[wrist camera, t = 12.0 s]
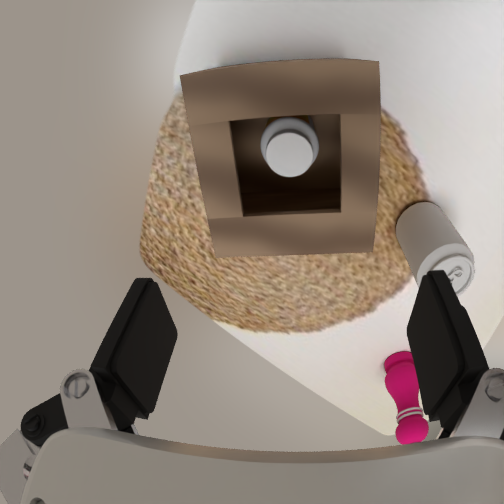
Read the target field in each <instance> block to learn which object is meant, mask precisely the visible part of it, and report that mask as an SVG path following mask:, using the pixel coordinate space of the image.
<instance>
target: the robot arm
mask: <svg viewBox="0 0 504 504" xmlns="http://www.w3.org/2000/svg"><path fill="white" fill-rule="evenodd" d="M407 337H408V341H409V345H410V349H411V353H412V357H413V361H414V366H415V370H416V375H417V379H418V384H419V389H420V394H421V399H422V404H423V410H424V413H425V415H429V421H430V422H431V421H437V420H440V424H441V427H442V429H441V431H440V432H439V434H438V436H437V437H436V439H435V440H430V441H424V442H418V443H411V444H404V445H397V446H388V447H381V448H371V449H359V450H346V451H323V452H273V451H252V450H238V449H227V448H217V447H208V446H200V445H193V444H186V443H179V442H173V441H167V440H162V439H156V438H151V437H145V436H140V435H139V434H138V432H137V430H136V427H135V425H134V421H135V418H136V417H138V418H142V419H148V416H149V413H152V412H153V411H154V409H155V405H156V402H157V399H158V395H159V392H160V389H161V386H162V383H163V380H164V377H165V374H166V371H167V367H168V364H169V361H170V358H171V355H172V352H173V349H174V346H175V343H176V340H177V329H176V327H175V324H174V322H173V320H172V317H171V315H170V313H169V311H168V308H167V305H166V303H165V301H164V298H163V296H162V294H161V291H160V288H159V286H158V284H157V283H156V282H154V281H153V279H152V278H136V279H135V280H134V282H133V284H132V285H131V287H130V289H129V291H128V293H127V295H126V297H125V298H124V300H123V302H122V304H121V306H120V308H119V310H118V312H117V314H116V316H115V318H114V320H113V321H112V323H111V325H110V327H109V329H108V331H107V333H106V336H105V337H104V339H103V341H102V343H101V345H100V347H99V350H98V352H97V354H96V356H95V358H94V360H93V362H92V364H91V367H90V369H89V371H88V370H85V369H76V370H73V371H72V372H70V373H69V374H67V375H66V377H65V378H64V379H63V381H62V383H61V386H60V394H58V395H56V396H54V397H52V398H50V399H49V400H47V401H45V402H44V403H41V404H40V405H38V406H36V407H34V408H32V409H31V410H29V411H28V412H27V413H26V414H25V415H24V417H23V419H22V422H21V430H20V431H19V430H18V429H17V430H15V431H14V432H13V433H12V434H11V435H10V436H9V437H8V438H7V439H6V440H5V441H4V442H3V443H2V444H1V445H0V490H1V492H2V494H3V496H4V498H5V499H6V501H7V502H8V504H504V370H503V369H500V368H493V369H489V367H488V364H487V361H486V358H485V356H484V353H483V350H482V348H481V345H480V342H479V340H478V337H477V335H476V332H475V330H474V327H473V325H472V323H471V320H470V318H469V316H468V313H467V311H466V309H465V308H464V307H463V306H461V304H460V302H459V300H458V297H457V295H456V293H455V291H454V289H453V287H452V285H451V283H450V280H449V278H448V276H447V274H446V272H445V271H444V270H430V271H428V272H427V274H426V275H423V277H422V280H421V283H420V287H419V290H418V294H417V297H416V300H415V304H414V307H413V310H412V313H411V317H410V320H409V323H408V326H407Z"/></svg>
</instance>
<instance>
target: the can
mask: <svg viewBox="0 0 504 504" xmlns="http://www.w3.org/2000/svg"><path fill="white" fill-rule="evenodd" d="M396 236H397V239H398V242H399V244H400V246H401V248H402V250H403V252H404V255H405V257H406V259H407V261H408V264H409V266H410V268H411V271H412V273H413V275H414V278H415V280H416V282H417V285H418V287H420V283H421V280H422V277H423V275H426V274H427V272H428V271H430V270H444V271H445V272H446V274H447V276H448V278H449V280H450V283H451V285H452V287H453V289H454V291H455V293H456V295H457V297H458V296H459V295H460V294H462V293H463V292H464V291H465V290H466V289H467V288H468V287H469V286H470V284H471V282H472V280H473V278H474V273H475V270H474V256H473V253H472V252H471V250H470V249H469V247H468V246H467V244H466V243H465V241H464V240H463V239H462V237H461V236H460V234H459V233H458V232H457V230H456V229H455V227H454V226H453V225H452V223H451V222H450V221H449V219H448V218H447V217H446V215H445V214H444V213H443V211H442V210H441V209H440V208H439V207H438V206H437V205H435V204H433V203H429V202H421V203H416V204H414V205H412V206H410V207H409V208H408V209H406V210H405V211H404V212H403V213H402V215H401V216H400V218H399V219H398V222H397V225H396Z"/></svg>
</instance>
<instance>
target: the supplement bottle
mask: <svg viewBox="0 0 504 504" xmlns="http://www.w3.org/2000/svg"><path fill="white" fill-rule="evenodd" d="M260 147H261V153H262V155H263V157H264V159H265V161H266V162H267V163H268V165H269V167H270V168H271V169H272V170H273V171H274V172H275V173H277V174H279V175H281V176H285V177H295V176H299V175H301V174H303V173H304V172H306V171H307V170H308V168H309V167H310V166H311V165H312V163H313V162H314V161H315V159H316V157H317V155H318V151H319V140H318V136H317V133H316V129H315V126H314V123H313V121H312V119H311V117H310V116H309V115H295V116H278V117H269V119H268V121H267V123H266V126H265V129H264V131H263V134H262V137H261V143H260Z"/></svg>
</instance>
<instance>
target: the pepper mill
mask: <svg viewBox="0 0 504 504" xmlns="http://www.w3.org/2000/svg"><path fill="white" fill-rule="evenodd" d="M384 366H385V371H386V373H387V375H386V377H385V385H386V388H387V390H388V392H389V393H390V395H391V396H392V397H393V399H394V401H395V403H396V405H397V409H398V414H397V416H396V419H397V423H398V424H399V425H398V427H397V428H396V438H397V440H398V441H399V442H400V443H401V444H403V445H404V444H411V443H418V442H421V441H422V440H424V439H425V437H426V436H427V433H428V430H429V429H428V428H429V427H428V423H427V421H426V420H425V419H424V418H422V417H423V409H422V408H420V406H419V401H418V393H419V384H418V379H417V375H416V370H415V366H414V361H413V357H412V353H410V352H406V351H403V352H398V353H395V354H393V355H391V356H389V357H388V358H387V359H386V361H385V363H384Z"/></svg>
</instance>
